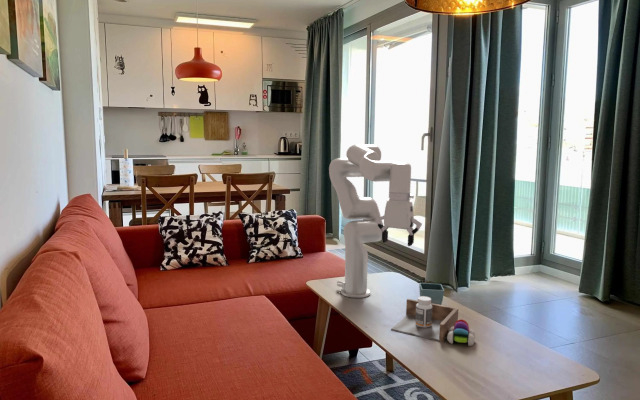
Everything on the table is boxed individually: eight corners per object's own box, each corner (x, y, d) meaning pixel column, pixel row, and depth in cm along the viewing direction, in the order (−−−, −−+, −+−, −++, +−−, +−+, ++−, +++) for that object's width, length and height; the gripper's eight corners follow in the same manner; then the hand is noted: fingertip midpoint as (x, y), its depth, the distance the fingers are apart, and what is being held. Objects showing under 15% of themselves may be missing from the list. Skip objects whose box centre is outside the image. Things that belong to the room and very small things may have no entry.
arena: (388, 329, 172) (389, 313, 171) (407, 313, 188) (407, 298, 187) (442, 342, 163) (443, 324, 162) (457, 324, 179) (458, 308, 178)
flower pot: (440, 305, 199) (441, 283, 198) (443, 312, 190) (444, 290, 189) (418, 304, 200) (419, 282, 198) (420, 311, 191) (421, 289, 190)
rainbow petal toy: (474, 338, 167) (476, 317, 166) (473, 349, 158) (474, 328, 157) (449, 334, 170) (450, 314, 169) (446, 345, 160) (447, 324, 160)
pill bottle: (428, 322, 179) (429, 295, 178) (433, 328, 173) (434, 300, 172) (413, 322, 178) (414, 295, 177) (417, 328, 173) (419, 301, 171)
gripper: (425, 198, 176) (423, 244, 179) (381, 194, 185) (379, 239, 187) (418, 200, 170) (416, 248, 172) (373, 196, 179) (371, 242, 181)
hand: (397, 243), depth 180 cm, fingers open, 9 cm apart
